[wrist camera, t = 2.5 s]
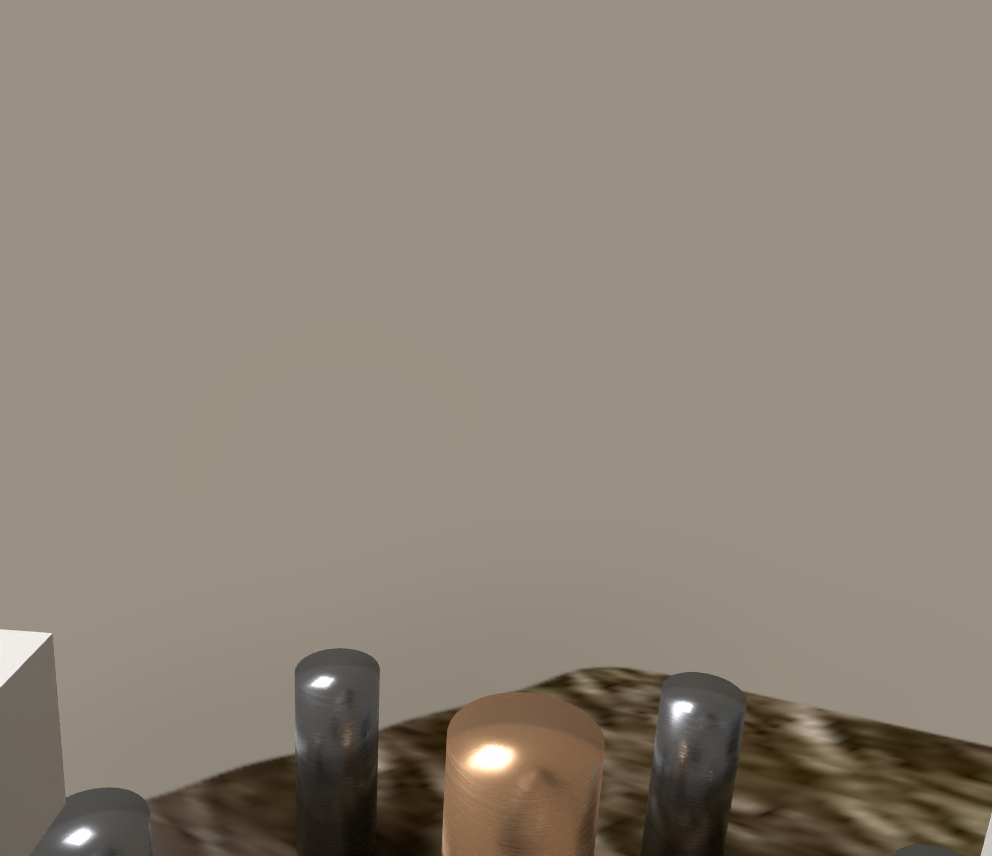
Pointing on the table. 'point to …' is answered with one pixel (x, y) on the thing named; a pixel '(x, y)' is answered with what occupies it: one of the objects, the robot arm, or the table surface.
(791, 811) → the table surface
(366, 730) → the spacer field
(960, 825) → the table surface
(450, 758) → the cylinder
